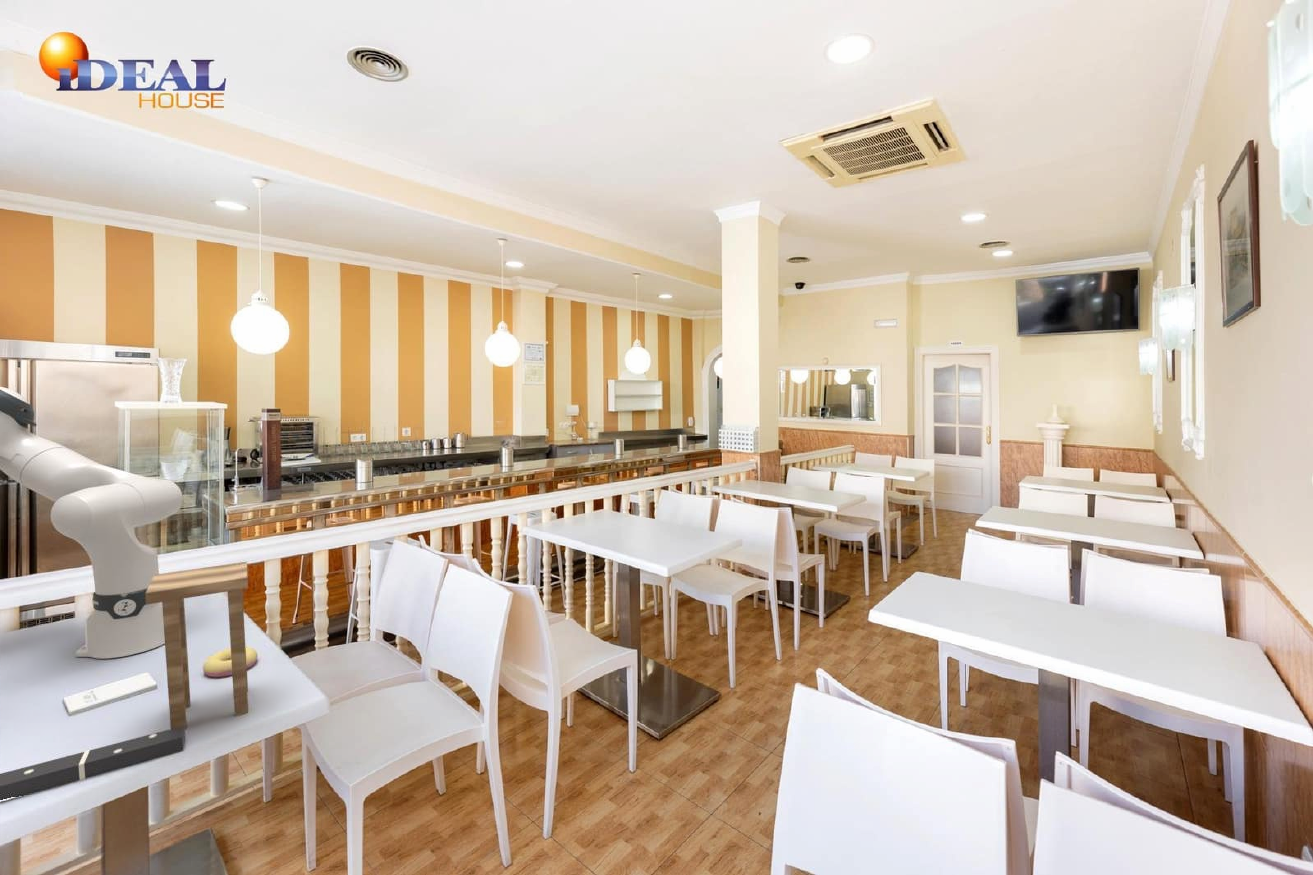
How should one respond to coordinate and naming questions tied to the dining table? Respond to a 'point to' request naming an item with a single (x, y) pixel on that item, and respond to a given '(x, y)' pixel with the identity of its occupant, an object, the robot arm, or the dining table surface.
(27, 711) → the dining table surface
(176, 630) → the stool
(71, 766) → the domino
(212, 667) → the donut
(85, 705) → the external hard drive
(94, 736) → the dining table surface
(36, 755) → the dining table surface
